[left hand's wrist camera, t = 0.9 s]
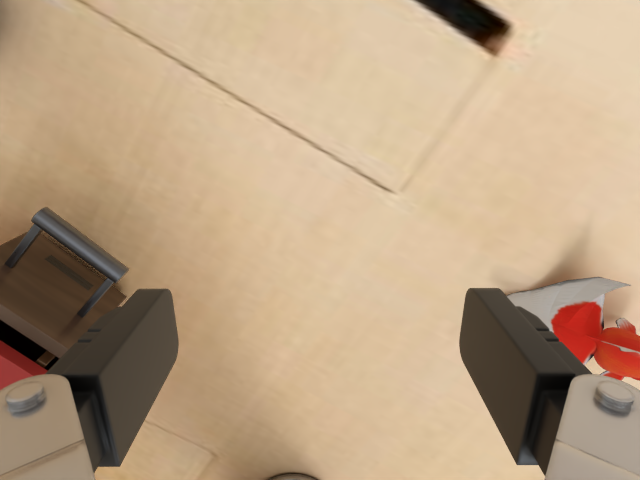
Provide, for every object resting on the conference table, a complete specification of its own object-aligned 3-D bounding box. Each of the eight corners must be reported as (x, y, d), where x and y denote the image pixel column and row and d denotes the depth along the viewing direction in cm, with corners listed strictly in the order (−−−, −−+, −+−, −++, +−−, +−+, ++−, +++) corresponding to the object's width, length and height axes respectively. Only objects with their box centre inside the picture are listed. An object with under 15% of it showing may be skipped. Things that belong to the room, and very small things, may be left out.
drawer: (69, 180, 35) (-9, 210, 27) (164, 254, 37) (119, 302, 29) (-48, 336, 41) (-143, 401, 32) (41, 392, 43) (-26, 465, 35)
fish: (595, 434, 40) (666, 472, 30) (465, 327, 44) (491, 330, 34) (661, 351, 41) (752, 362, 31) (528, 251, 44) (572, 233, 34)
